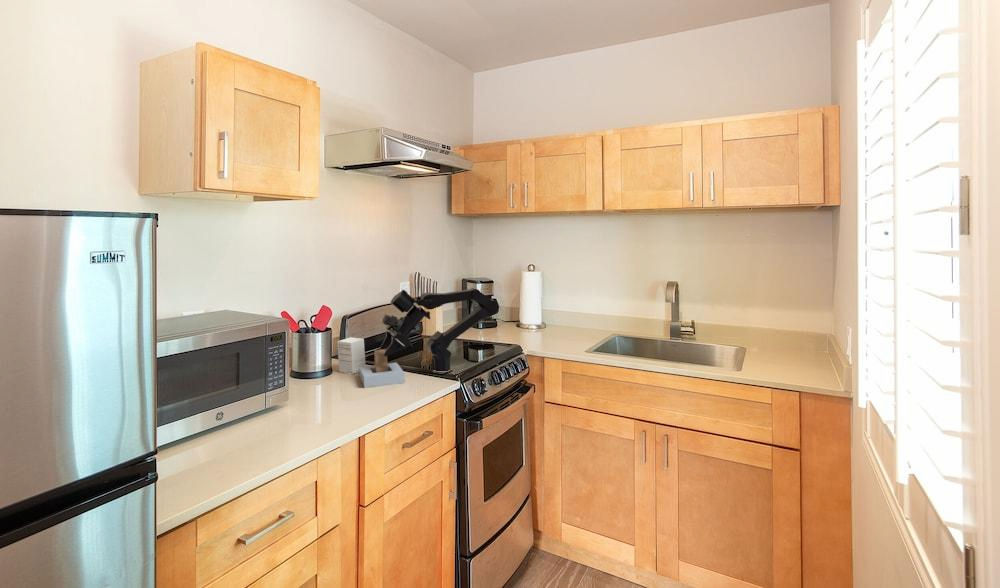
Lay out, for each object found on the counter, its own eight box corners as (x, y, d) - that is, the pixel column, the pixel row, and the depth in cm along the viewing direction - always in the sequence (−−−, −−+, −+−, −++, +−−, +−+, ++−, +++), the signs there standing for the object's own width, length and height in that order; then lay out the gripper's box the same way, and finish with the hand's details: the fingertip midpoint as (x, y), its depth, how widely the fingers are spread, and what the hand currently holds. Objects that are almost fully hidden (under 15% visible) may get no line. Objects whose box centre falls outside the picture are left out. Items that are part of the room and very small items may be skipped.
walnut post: (386, 375, 180) (385, 349, 178) (388, 378, 176) (386, 351, 175) (375, 376, 178) (374, 350, 177) (377, 379, 175) (375, 352, 173)
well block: (397, 372, 186) (396, 362, 186) (404, 382, 174) (404, 371, 173) (359, 377, 181) (359, 367, 180) (364, 388, 168) (364, 377, 168)
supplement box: (352, 367, 195) (350, 336, 193) (366, 369, 191) (364, 338, 190) (338, 372, 188) (336, 340, 186) (352, 374, 185) (351, 342, 183)
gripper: (390, 303, 185) (362, 334, 182) (399, 310, 168) (369, 344, 165) (411, 321, 189) (384, 352, 186) (423, 330, 172) (393, 364, 169)
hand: (382, 352), depth 176 cm, fingers open, 9 cm apart
